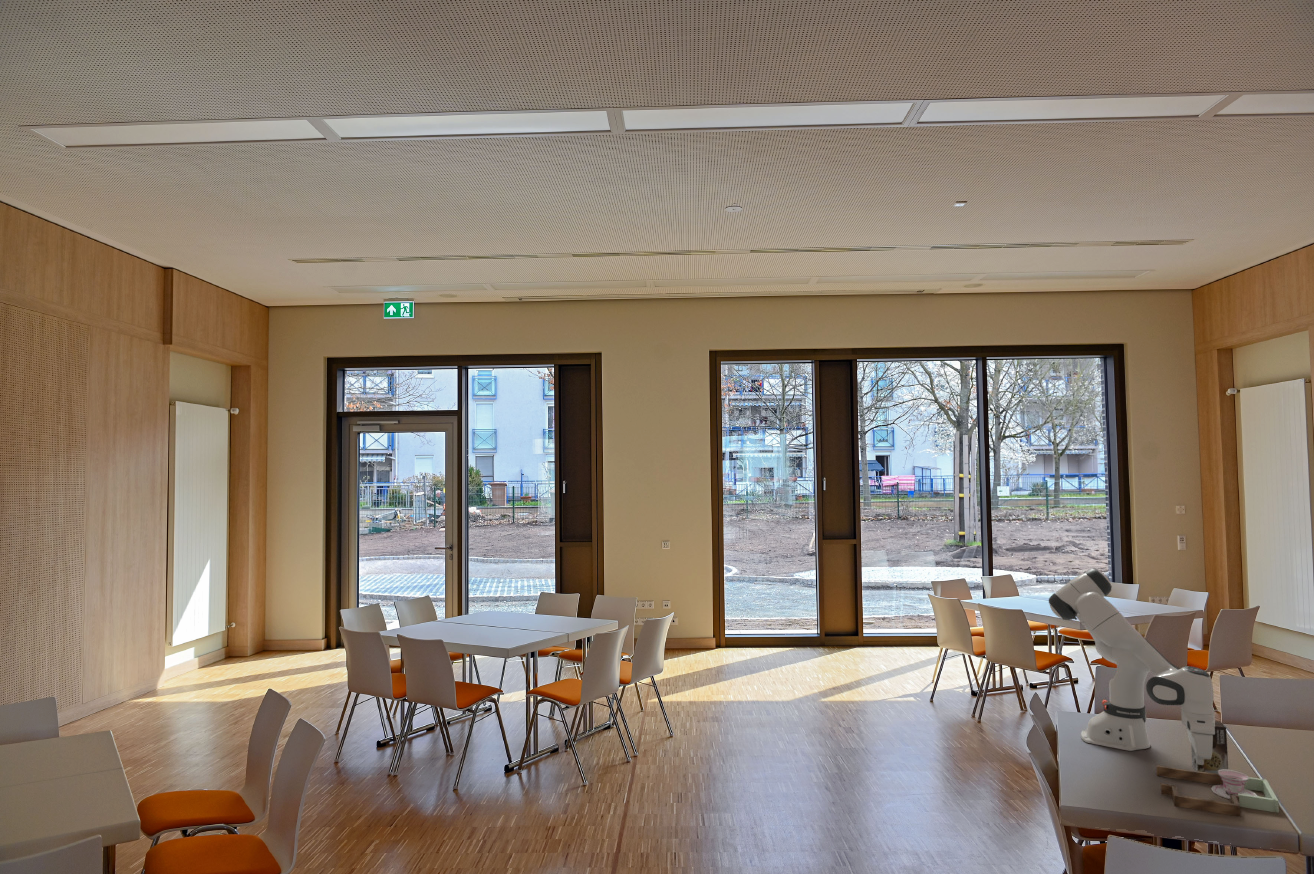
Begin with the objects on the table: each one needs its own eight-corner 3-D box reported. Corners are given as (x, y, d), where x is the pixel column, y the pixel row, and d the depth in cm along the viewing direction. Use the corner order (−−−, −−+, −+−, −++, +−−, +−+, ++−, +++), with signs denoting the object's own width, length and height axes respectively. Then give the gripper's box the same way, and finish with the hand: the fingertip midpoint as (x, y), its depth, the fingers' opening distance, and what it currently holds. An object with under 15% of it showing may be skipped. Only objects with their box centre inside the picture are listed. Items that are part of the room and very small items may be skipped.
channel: (1163, 803, 243) (1163, 794, 243) (1156, 774, 265) (1156, 765, 265) (1244, 817, 233) (1243, 806, 234) (1229, 785, 256) (1229, 775, 256)
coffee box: (1222, 768, 269) (1220, 720, 270) (1229, 775, 263) (1227, 726, 264) (1191, 765, 272) (1189, 718, 273) (1197, 772, 266) (1195, 724, 267)
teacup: (1203, 786, 256) (1202, 766, 256) (1242, 786, 255) (1241, 767, 255) (1226, 802, 244) (1225, 781, 244) (1267, 803, 243) (1267, 782, 243)
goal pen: (1239, 806, 240) (1238, 794, 241) (1229, 785, 256) (1229, 774, 256) (1278, 812, 236) (1278, 800, 236) (1266, 790, 251) (1266, 779, 251)
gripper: (1181, 708, 264) (1183, 750, 264) (1191, 728, 246) (1193, 773, 246) (1204, 710, 261) (1205, 753, 261) (1215, 731, 243) (1217, 776, 243)
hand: (1199, 763), depth 253 cm, fingers closed
